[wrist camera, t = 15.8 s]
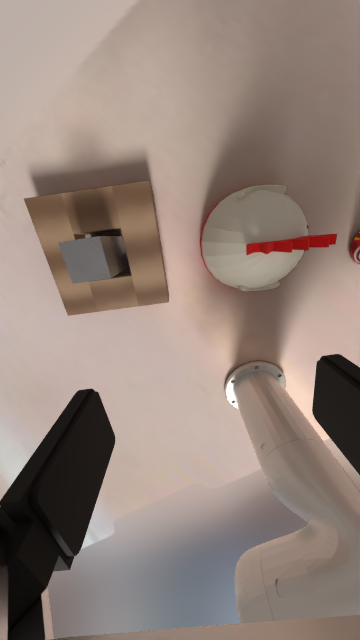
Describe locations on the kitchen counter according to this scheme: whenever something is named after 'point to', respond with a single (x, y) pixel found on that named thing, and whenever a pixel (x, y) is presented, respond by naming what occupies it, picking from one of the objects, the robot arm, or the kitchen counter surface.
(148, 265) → the socket block
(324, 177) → the kitchen counter surface
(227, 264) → the kitchen timer
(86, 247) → the square peg
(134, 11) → the kitchen counter surface
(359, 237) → the soda can
